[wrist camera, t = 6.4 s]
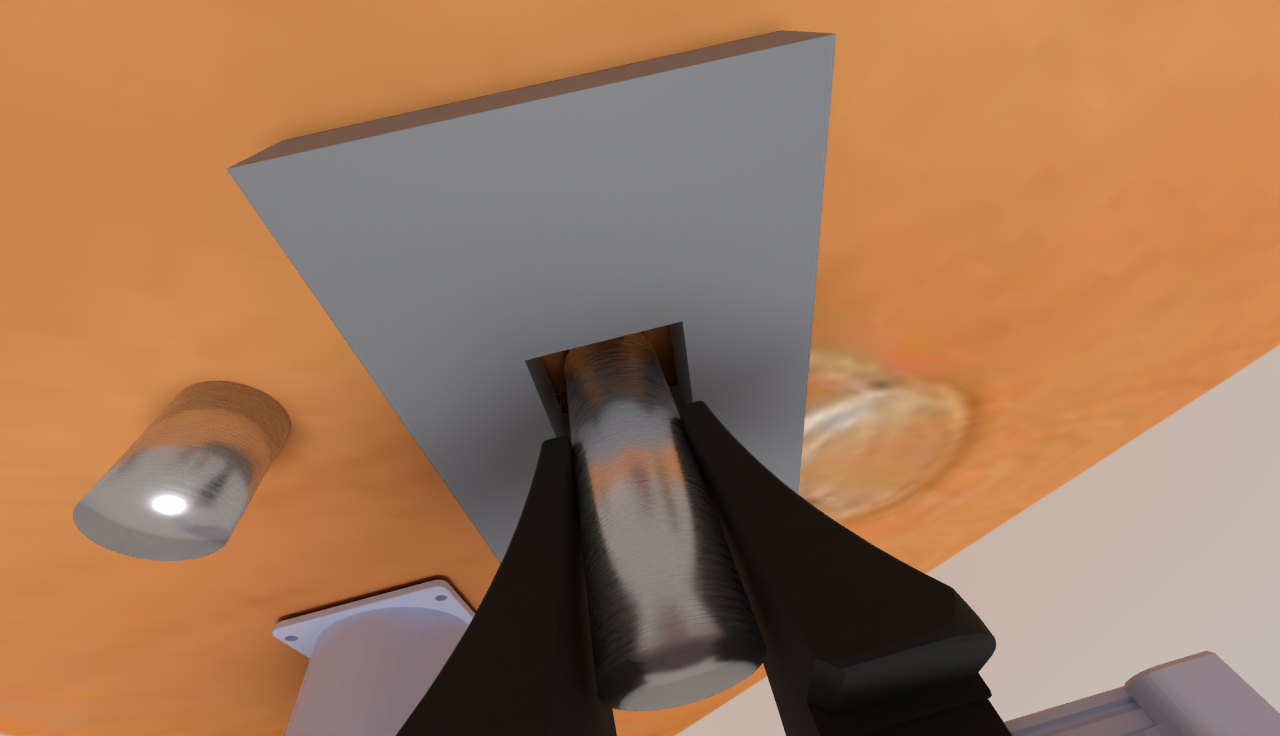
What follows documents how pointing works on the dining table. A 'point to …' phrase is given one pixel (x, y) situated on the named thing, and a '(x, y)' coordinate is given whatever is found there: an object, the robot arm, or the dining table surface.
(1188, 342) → the dining table surface
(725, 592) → the tall pin
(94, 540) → the short pin
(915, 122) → the dining table surface
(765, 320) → the hole board
